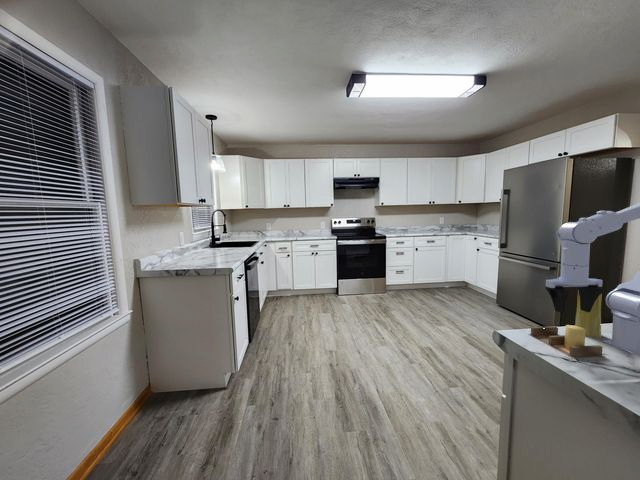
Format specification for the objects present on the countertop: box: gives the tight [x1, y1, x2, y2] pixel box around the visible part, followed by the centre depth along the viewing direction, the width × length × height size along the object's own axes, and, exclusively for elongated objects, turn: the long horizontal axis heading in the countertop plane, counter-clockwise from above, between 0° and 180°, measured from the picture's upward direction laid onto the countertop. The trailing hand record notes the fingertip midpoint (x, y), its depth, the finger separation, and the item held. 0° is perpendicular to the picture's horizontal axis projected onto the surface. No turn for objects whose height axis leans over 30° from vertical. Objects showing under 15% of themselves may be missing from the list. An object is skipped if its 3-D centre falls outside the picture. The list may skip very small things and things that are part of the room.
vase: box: [574, 290, 603, 339], centre depth 83 cm, size 6×6×14 cm
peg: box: [564, 324, 586, 350], centre depth 73 cm, size 4×4×6 cm
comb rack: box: [527, 325, 606, 359], centre depth 77 cm, size 9×15×3 cm, turn 1°
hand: (572, 311), depth 76 cm, fingers open, 7 cm apart
